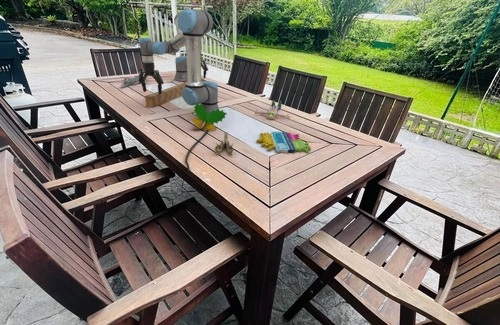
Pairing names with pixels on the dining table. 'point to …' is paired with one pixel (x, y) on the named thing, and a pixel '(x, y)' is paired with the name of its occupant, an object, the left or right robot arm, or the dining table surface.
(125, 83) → the airplane
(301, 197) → the dining table surface
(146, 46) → the right robot arm
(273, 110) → the toy
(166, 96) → the post
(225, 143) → the jawbone
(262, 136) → the sign
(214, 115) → the ornament
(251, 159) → the dining table surface
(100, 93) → the dining table surface
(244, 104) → the dining table surface
